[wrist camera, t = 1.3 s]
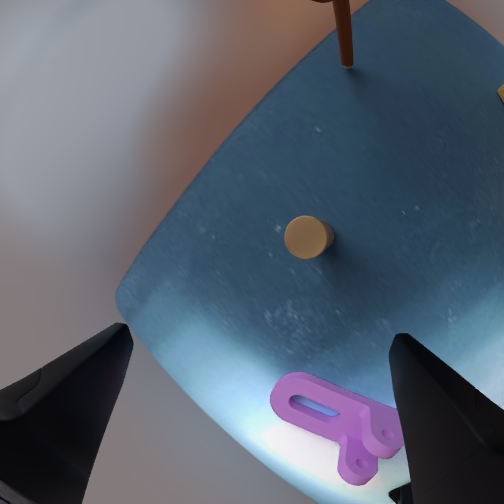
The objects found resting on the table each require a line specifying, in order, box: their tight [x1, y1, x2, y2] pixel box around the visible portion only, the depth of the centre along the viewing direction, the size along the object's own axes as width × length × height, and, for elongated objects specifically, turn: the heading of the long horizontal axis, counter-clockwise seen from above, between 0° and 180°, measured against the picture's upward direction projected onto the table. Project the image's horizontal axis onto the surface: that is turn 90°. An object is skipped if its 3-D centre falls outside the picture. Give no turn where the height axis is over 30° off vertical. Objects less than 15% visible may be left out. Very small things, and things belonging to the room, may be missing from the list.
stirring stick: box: [284, 216, 334, 259], centre depth 21 cm, size 2×2×10 cm
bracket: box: [270, 372, 404, 486], centre depth 23 cm, size 13×6×7 cm, turn 68°
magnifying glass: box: [312, 0, 353, 69], centre depth 14 cm, size 9×2×20 cm, turn 149°
